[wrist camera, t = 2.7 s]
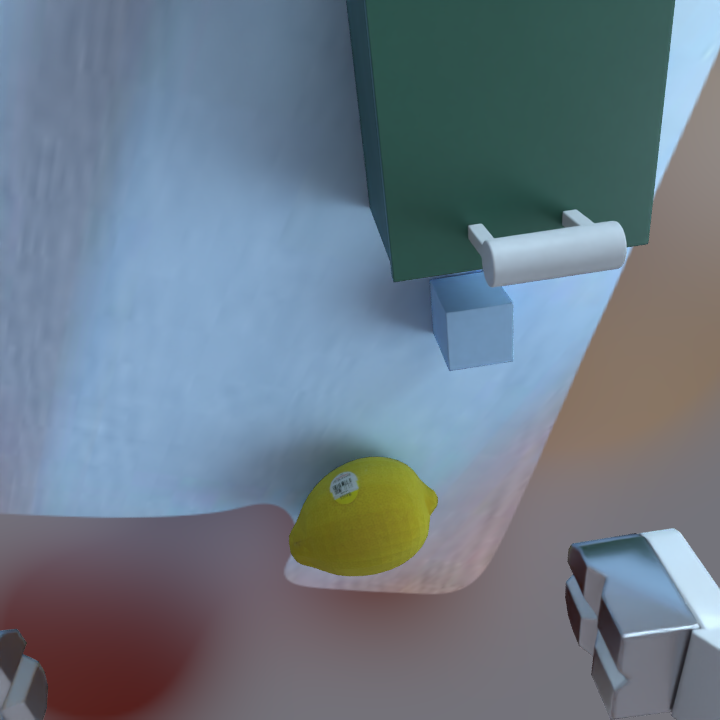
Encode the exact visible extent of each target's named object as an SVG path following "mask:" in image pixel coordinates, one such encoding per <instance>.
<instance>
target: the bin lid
mask: <svg viewBox="0 0 720 720" xmlns="http://www.w3.org/2000/svg"><path fill="white" fill-rule="evenodd" d="M674 7H675V0H364V10H365V20H366V29H367V39H368V49H369V59H370V69H371V79H372V88H373V98H374V108H375V118H376V128H377V138H378V147H379V157H380V167H381V177H382V187H383V197H384V206H385V216H386V226H387V236H388V246H389V255H390V265H391V275H392V279H393V281H394V282H399V281H406V280H412V279H419V278H426V277H432V276H439V275H446V274H452V273H459V272H466V271H472V270H479V269H483V272H484V276H485V280H486V282H487V284H488V286H489V287H492V288H493V287H500V286H507V285H513V284H520V283H526V282H533V281H540V280H546V279H553V278H560V277H566V276H573V275H579V274H586V273H593V272H599V271H606V270H613V269H618V268H620V267H621V266H622V265H623V264H624V262H625V259H626V252H627V247H632V246H638V245H645V244H648V241H649V232H650V223H651V214H652V205H653V196H654V187H655V178H656V169H657V160H658V151H659V142H660V133H661V124H662V115H663V106H664V97H665V88H666V79H667V70H668V61H669V52H670V43H671V34H672V25H673V16H674Z"/></svg>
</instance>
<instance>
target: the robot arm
mask: <svg viewBox="0 0 720 720" xmlns="http://www.w3.org/2000/svg"><path fill="white" fill-rule="evenodd" d="M568 563H569V566H570V568H571V570H572V572H573V575H572V576H571V577H570V578H569V579H568V580H567V581H566V593H565V594H566V596H565V598H566V604H567V611H568V616H569V619H570V623H571V626H572V629H573V632H574V634H575V637H576V639H577V642H578V644H579V646H580V647H581V648H582V649H584V650H585V651H587V652H588V653H589V654H590V655H592V656H593V665H592V673H591V675H592V678H593V680H594V682H595V684H596V687H597V689H598V691H599V694H600V696H601V698H602V701H603V703H604V705H605V708H606V710H607V712H608V715H609V717H610V719H619V718H628V717H636V716H643V715H651V714H659V713H667V712H672V714H671V716H672V717H674V718H675V719H676V720H720V589H719V588H718V586H717V585H716V583H715V582H714V580H713V579H712V577H711V576H710V574H709V573H708V572H707V570H706V569H705V567H704V566H703V564H702V563H701V561H700V560H699V559H698V557H697V556H696V554H695V553H694V551H693V550H692V548H691V547H690V546H689V544H688V543H687V541H686V540H685V538H684V537H683V536H682V534H681V533H680V532H678V531H677V530H675V529H674V528H673V529H665V530H659V531H652V532H645V533H640V534H636V533H634V534H628V535H622V536H616V537H611V538H604V539H598V540H591V541H585V542H580V543H573V544H572V545H571V546H570V548H569V552H568ZM26 644H27V643H26V641H25V640H24V638H23V637H22V635H21V634H20V633H19V631H18V630H17V629H12V630H3V631H0V720H43V718H44V715H45V712H46V708H47V694H48V684H47V680H46V676H45V672H44V670H43V668H42V667H41V665H40V663H39V662H38V661H36V660H34V659H32V658H30V657H28V656H26V655H24V654H23V652H24V649H25V646H26Z"/></svg>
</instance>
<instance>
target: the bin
mask: <svg viewBox="0 0 720 720" xmlns="http://www.w3.org/2000/svg"><path fill="white" fill-rule="evenodd" d="M346 2H347V11H348V19H349V28H350V37H351V46H352V55H353V63H354V72H355V81H356V90H357V99H358V108H359V116H360V125H361V134H362V143H363V152H364V160H365V169H366V178H367V187H368V196H369V204H370V209H371V212H372V215H373V217H374V220H375V223H376V225H377V228H378V231H379V233H380V236H381V239H382V241H383V244H384V247H385V249H386V252H387V254H388V257H389V260H390V255H389V246H388V236H387V226H386V216H385V206H384V197H383V187H382V177H381V167H380V157H379V147H378V138H377V128H376V118H375V108H374V98H373V88H372V79H371V69H370V59H369V49H368V39H367V29H366V20H365V10H364V0H346Z"/></svg>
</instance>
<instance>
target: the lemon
mask: <svg viewBox="0 0 720 720" xmlns="http://www.w3.org/2000/svg"><path fill="white" fill-rule="evenodd" d="M437 503H438V497H437V495H436V493H435V492H434V491H433V490H432V489H431V488H429V487H428V486H426V485H425V484H424V483H423V482H422V481H421V480H420V479H419V477H418V476H417V475H416V473H415V472H414V471H413V470H412V469H411V468H410V467H409V466H407V465H406V464H404V463H402V462H400V461H398V460H395V459H391V458H385V457H366V458H360V459H356V460H353V461H350V462H348V463H346V464H344V465H342V466H340V467H338V468H336V469H335V470H333V471H332V472H330V473H329V474H328V475H326V476H325V477H324V478H323V479H322V480H321V481H320V482H319V483H318V484H317V485H316V486H315V487H314V489H313V490H312V491H311V493H310V494H309V495H308V497H307V499H306V501H305V503H304V504H303V507H302V509H301V512H300V514H299V517H298V519H297V522H296V524H295V525H294V527H293V529H292V531H291V533H290V535H289V545H290V550H291V554H292V556H293V557H294V559H295V560H296V561H297V562H298V563H300V564H302V565H306V566H310V567H314V568H317V569H319V570H322V571H326V572H328V573H332V574H336V575H342V576H366V575H373V574H377V573H381V572H385V571H388V570H391V569H393V568H395V567H398V566H400V565H401V564H403V563H405V562H406V561H408V560H409V559H410V558H412V557H413V556H414V555H415V554H416V553H417V552H418V551H419V549H420V548H421V547H422V546H423V544H424V542H425V540H426V538H427V536H428V530H429V522H430V515H431V514H432V512H433V511H434V509H435V508H436V506H437Z"/></svg>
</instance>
